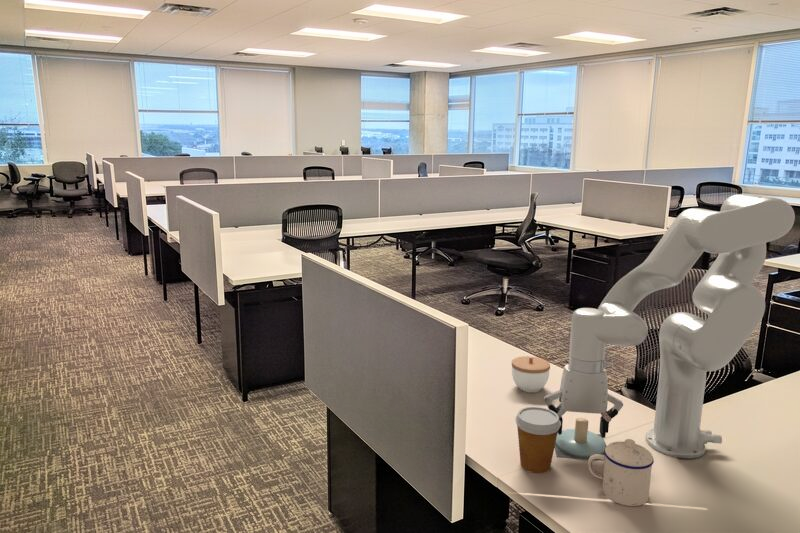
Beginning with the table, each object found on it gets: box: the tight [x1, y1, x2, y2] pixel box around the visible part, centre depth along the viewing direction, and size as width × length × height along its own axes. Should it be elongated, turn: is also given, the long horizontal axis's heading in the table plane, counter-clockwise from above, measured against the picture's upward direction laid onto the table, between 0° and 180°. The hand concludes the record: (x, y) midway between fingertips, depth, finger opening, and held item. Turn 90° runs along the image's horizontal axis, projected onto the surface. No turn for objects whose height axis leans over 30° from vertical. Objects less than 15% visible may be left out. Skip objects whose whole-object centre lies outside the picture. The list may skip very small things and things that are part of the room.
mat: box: [554, 433, 607, 462], centre depth 133 cm, size 12×12×1 cm
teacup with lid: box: [587, 438, 655, 507], centre depth 115 cm, size 12×9×12 cm
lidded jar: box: [511, 355, 551, 393], centre depth 164 cm, size 11×11×9 cm
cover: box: [556, 417, 607, 458], centre depth 132 cm, size 11×11×6 cm
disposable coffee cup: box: [514, 406, 561, 474], centre depth 124 cm, size 10×10×12 cm
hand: (580, 433), depth 132 cm, fingers open, 9 cm apart
